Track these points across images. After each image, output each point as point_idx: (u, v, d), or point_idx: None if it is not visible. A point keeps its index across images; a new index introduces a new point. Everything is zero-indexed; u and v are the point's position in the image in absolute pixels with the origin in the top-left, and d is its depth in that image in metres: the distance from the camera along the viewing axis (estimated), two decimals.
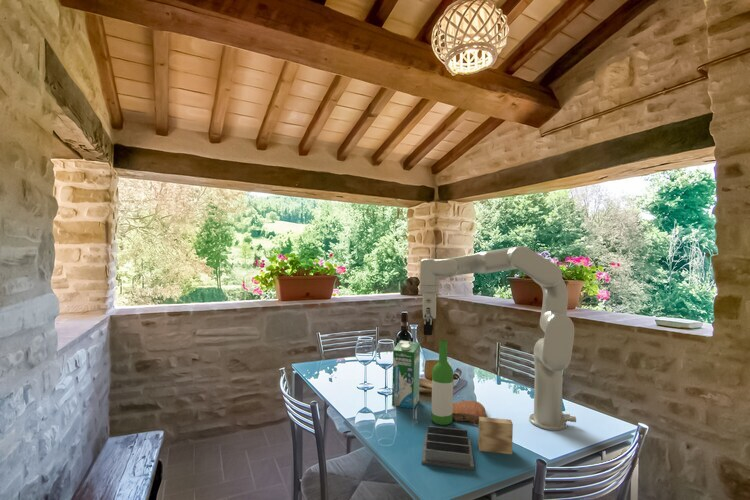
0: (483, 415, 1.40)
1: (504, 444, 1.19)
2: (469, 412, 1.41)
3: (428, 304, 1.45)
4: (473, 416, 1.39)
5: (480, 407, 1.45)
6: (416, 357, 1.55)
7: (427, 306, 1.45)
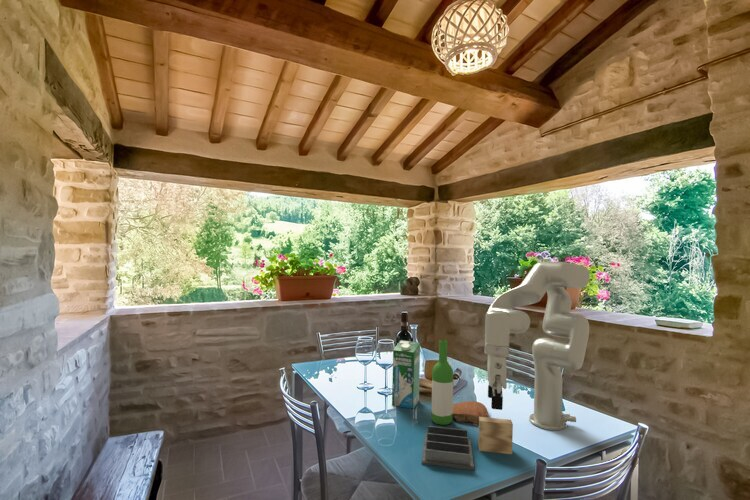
0: (485, 416, 1.39)
1: (504, 444, 1.19)
2: (471, 413, 1.40)
3: (498, 370, 1.16)
4: (475, 417, 1.39)
5: (482, 408, 1.44)
6: (416, 357, 1.55)
7: (496, 372, 1.16)
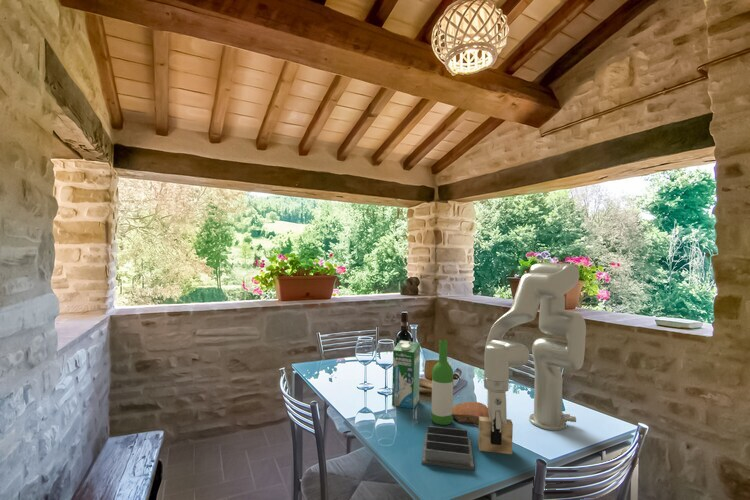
0: (487, 416, 1.39)
1: (504, 444, 1.19)
2: (473, 413, 1.40)
3: (498, 406, 1.16)
4: (477, 417, 1.38)
5: (484, 408, 1.44)
6: (416, 357, 1.55)
7: (496, 408, 1.16)
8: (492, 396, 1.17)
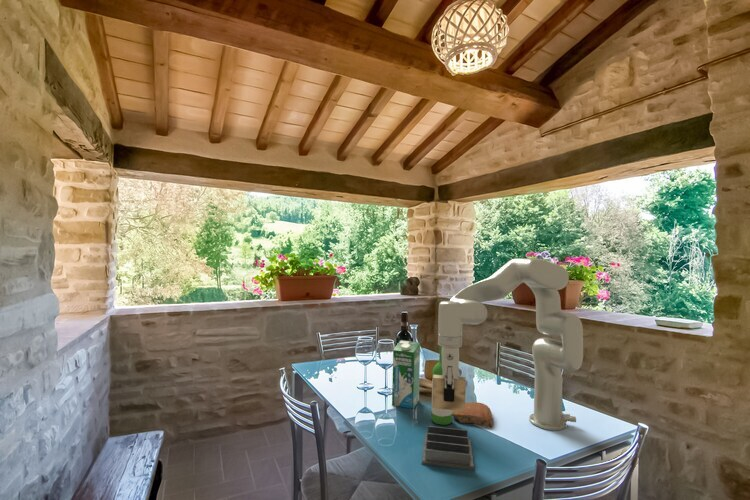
0: (489, 417, 1.38)
1: (457, 400, 1.17)
2: (475, 414, 1.39)
3: (449, 361, 1.14)
4: (479, 418, 1.38)
5: (486, 409, 1.43)
6: (416, 357, 1.55)
7: (448, 364, 1.14)
8: (444, 352, 1.15)
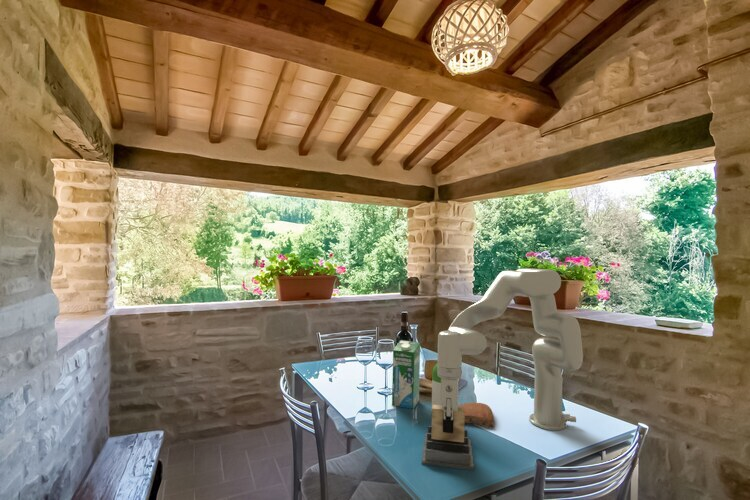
0: (490, 418, 1.38)
1: (456, 432, 1.17)
2: (476, 414, 1.39)
3: (449, 393, 1.14)
4: (480, 418, 1.38)
5: (487, 409, 1.43)
6: (416, 357, 1.55)
7: (447, 395, 1.14)
8: (443, 383, 1.15)
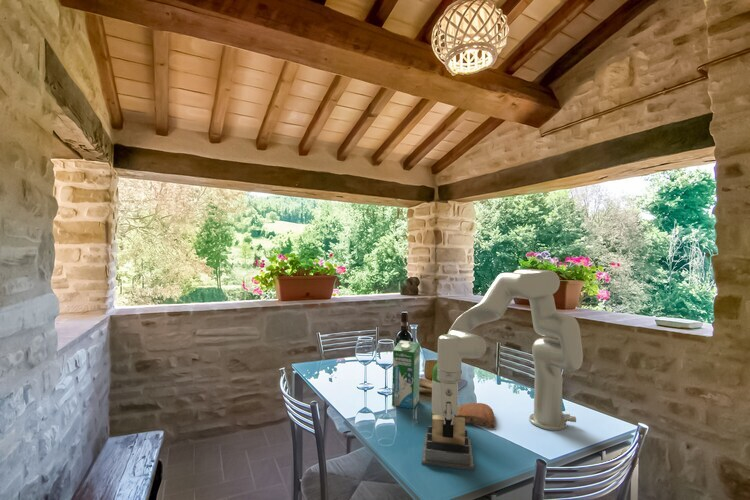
0: (491, 418, 1.38)
1: (456, 442, 1.17)
2: (477, 414, 1.39)
3: (448, 397, 1.14)
4: (481, 418, 1.37)
5: (488, 409, 1.43)
6: (416, 357, 1.55)
7: (447, 399, 1.14)
8: (443, 387, 1.15)
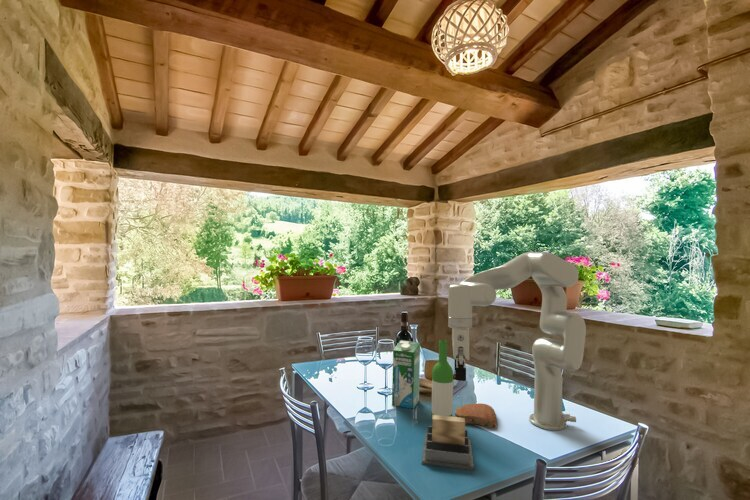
0: (493, 418, 1.37)
1: (456, 442, 1.17)
2: (478, 415, 1.38)
3: (460, 342, 1.17)
4: (482, 419, 1.37)
5: (490, 410, 1.42)
6: (416, 357, 1.55)
7: (459, 344, 1.17)
8: (455, 333, 1.18)
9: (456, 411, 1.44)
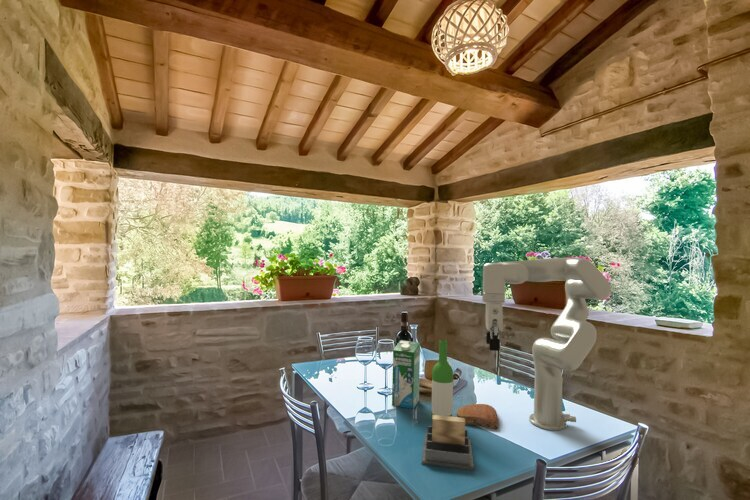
0: (494, 419, 1.37)
1: (456, 442, 1.17)
2: (480, 415, 1.38)
3: (495, 315, 1.27)
4: (484, 420, 1.36)
5: (491, 411, 1.42)
6: (416, 357, 1.55)
7: (493, 317, 1.27)
8: (490, 307, 1.28)
9: (458, 411, 1.43)
